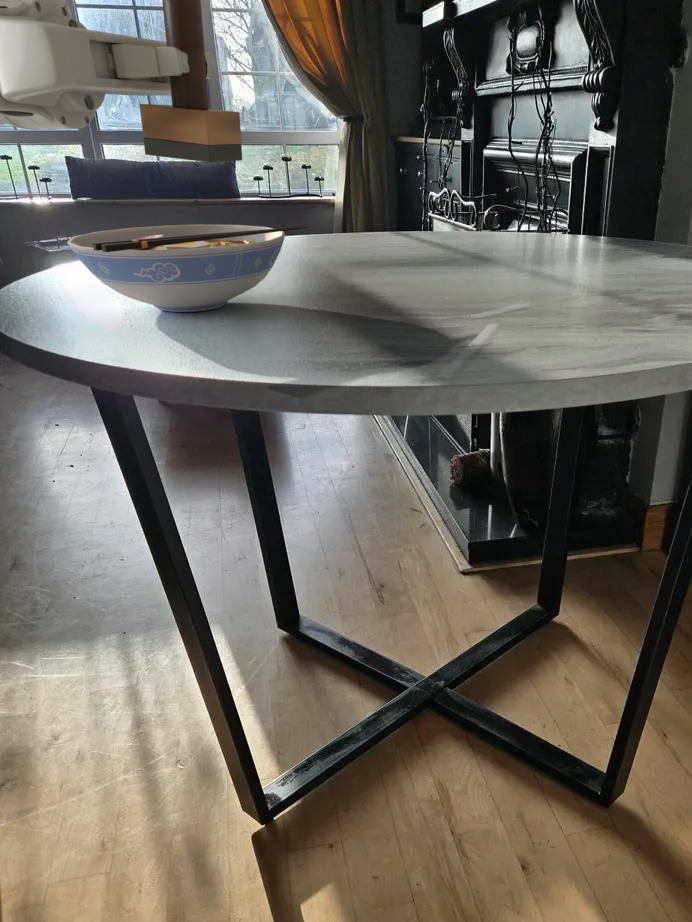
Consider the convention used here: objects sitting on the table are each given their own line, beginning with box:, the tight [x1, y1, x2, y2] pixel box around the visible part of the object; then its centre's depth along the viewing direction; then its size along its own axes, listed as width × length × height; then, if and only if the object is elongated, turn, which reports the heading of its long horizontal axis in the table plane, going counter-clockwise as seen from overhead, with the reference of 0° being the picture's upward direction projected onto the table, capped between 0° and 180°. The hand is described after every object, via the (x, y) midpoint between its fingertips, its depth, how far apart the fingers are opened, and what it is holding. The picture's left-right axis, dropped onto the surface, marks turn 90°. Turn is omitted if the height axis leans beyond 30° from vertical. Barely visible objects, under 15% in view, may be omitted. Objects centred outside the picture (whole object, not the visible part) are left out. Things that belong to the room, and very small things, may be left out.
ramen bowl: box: [66, 223, 309, 313], centre depth 86 cm, size 25×23×8 cm
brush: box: [139, 0, 243, 163], centre depth 59 cm, size 6×5×20 cm
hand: (197, 63), depth 61 cm, fingers closed on brush, 3 cm apart
